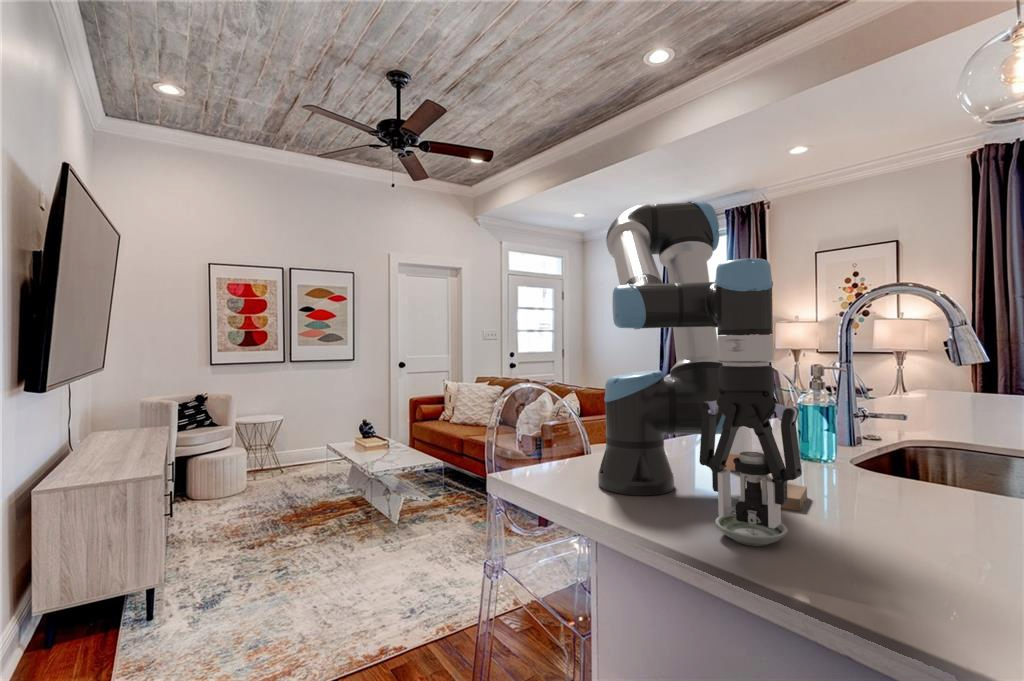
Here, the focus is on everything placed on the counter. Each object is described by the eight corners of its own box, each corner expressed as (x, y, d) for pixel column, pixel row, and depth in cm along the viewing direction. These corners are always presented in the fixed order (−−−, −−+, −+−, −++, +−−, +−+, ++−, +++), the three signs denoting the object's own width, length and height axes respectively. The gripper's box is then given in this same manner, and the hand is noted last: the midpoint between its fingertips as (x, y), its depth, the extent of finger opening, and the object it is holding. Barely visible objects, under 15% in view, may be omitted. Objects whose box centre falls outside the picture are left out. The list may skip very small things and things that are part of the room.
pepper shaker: (744, 463, 121) (742, 383, 121) (760, 470, 114) (758, 385, 114) (714, 464, 121) (712, 383, 121) (729, 472, 113) (727, 386, 113)
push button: (721, 522, 75) (720, 454, 75) (729, 512, 79) (728, 448, 79) (771, 531, 71) (770, 460, 71) (777, 519, 75) (775, 452, 75)
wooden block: (743, 502, 92) (743, 491, 92) (754, 489, 99) (754, 479, 99) (800, 510, 87) (799, 499, 87) (807, 497, 94) (806, 486, 94)
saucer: (703, 530, 79) (703, 514, 79) (759, 526, 81) (759, 511, 81) (739, 555, 70) (739, 538, 70) (803, 550, 71) (802, 533, 71)
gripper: (672, 364, 80) (675, 510, 80) (810, 366, 66) (814, 544, 66) (695, 362, 85) (698, 499, 85) (827, 364, 71) (831, 529, 71)
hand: (749, 519), depth 75 cm, fingers closed on push button, 6 cm apart
